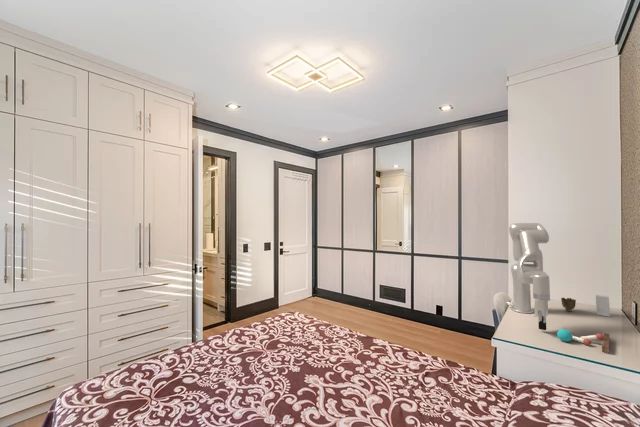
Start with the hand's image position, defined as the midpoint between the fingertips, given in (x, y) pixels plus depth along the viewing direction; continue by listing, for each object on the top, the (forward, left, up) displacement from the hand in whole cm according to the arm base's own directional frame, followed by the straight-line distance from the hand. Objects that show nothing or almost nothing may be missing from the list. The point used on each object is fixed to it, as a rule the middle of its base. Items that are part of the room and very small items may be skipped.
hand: (542, 329), depth 159 cm
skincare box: (+22, +55, -2) cm, 59 cm away
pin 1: (+12, -1, 0) cm, 12 cm away
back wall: (+25, 0, -2) cm, 25 cm away
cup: (+6, +51, -2) cm, 51 cm away
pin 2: (+16, 0, -1) cm, 16 cm away
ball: (+10, -6, +2) cm, 12 cm away
